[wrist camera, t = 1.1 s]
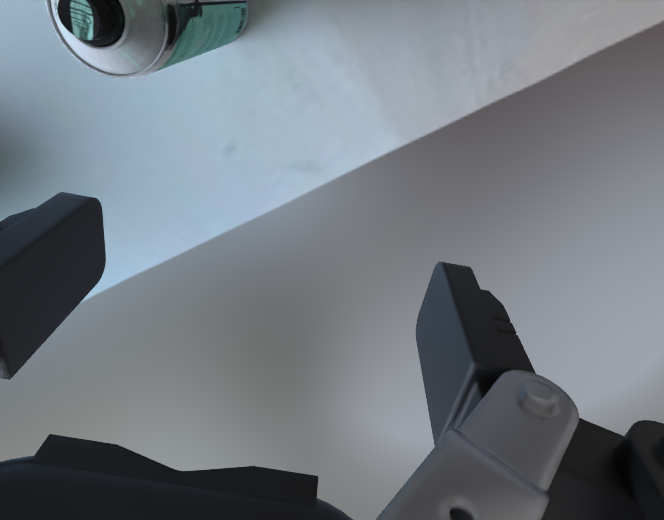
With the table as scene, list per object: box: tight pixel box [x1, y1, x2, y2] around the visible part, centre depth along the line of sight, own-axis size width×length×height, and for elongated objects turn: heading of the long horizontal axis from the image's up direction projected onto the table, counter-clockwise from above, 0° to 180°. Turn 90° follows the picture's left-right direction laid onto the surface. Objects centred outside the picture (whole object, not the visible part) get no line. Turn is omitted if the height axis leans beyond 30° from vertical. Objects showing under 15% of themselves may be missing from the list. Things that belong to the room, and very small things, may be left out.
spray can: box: [46, 0, 249, 78], centre depth 27 cm, size 6×6×20 cm
